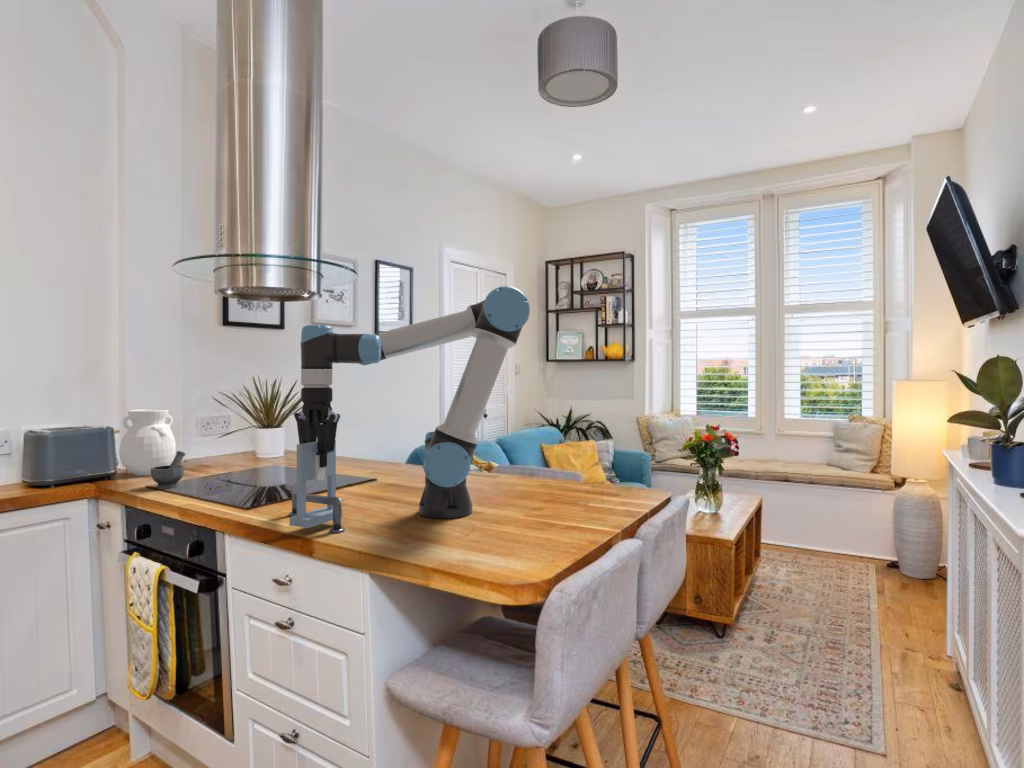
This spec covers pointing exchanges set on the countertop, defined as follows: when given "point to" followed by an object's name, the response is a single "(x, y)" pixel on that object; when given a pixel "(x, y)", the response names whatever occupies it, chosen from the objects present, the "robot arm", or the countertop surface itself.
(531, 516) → the countertop surface
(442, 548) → the countertop surface
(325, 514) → the blue-grey upright frame
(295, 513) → the grey bent bar frame
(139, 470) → the white handled vase
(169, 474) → the mortar and pestle
